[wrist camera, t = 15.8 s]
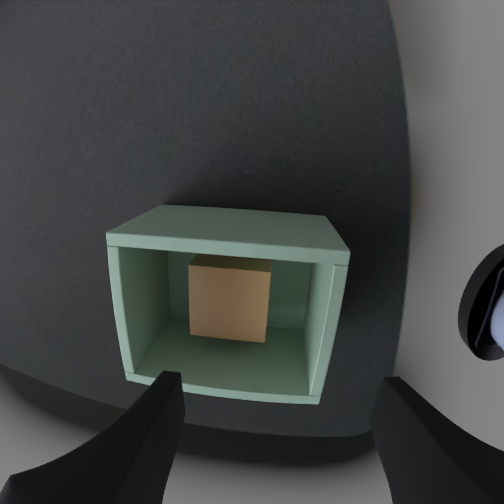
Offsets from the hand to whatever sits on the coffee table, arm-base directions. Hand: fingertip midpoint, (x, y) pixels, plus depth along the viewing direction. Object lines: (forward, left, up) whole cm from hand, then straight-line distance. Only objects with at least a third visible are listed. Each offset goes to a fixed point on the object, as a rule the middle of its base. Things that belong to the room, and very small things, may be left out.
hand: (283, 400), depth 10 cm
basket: (+3, 0, -10) cm, 11 cm away
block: (+3, 0, -10) cm, 10 cm away
